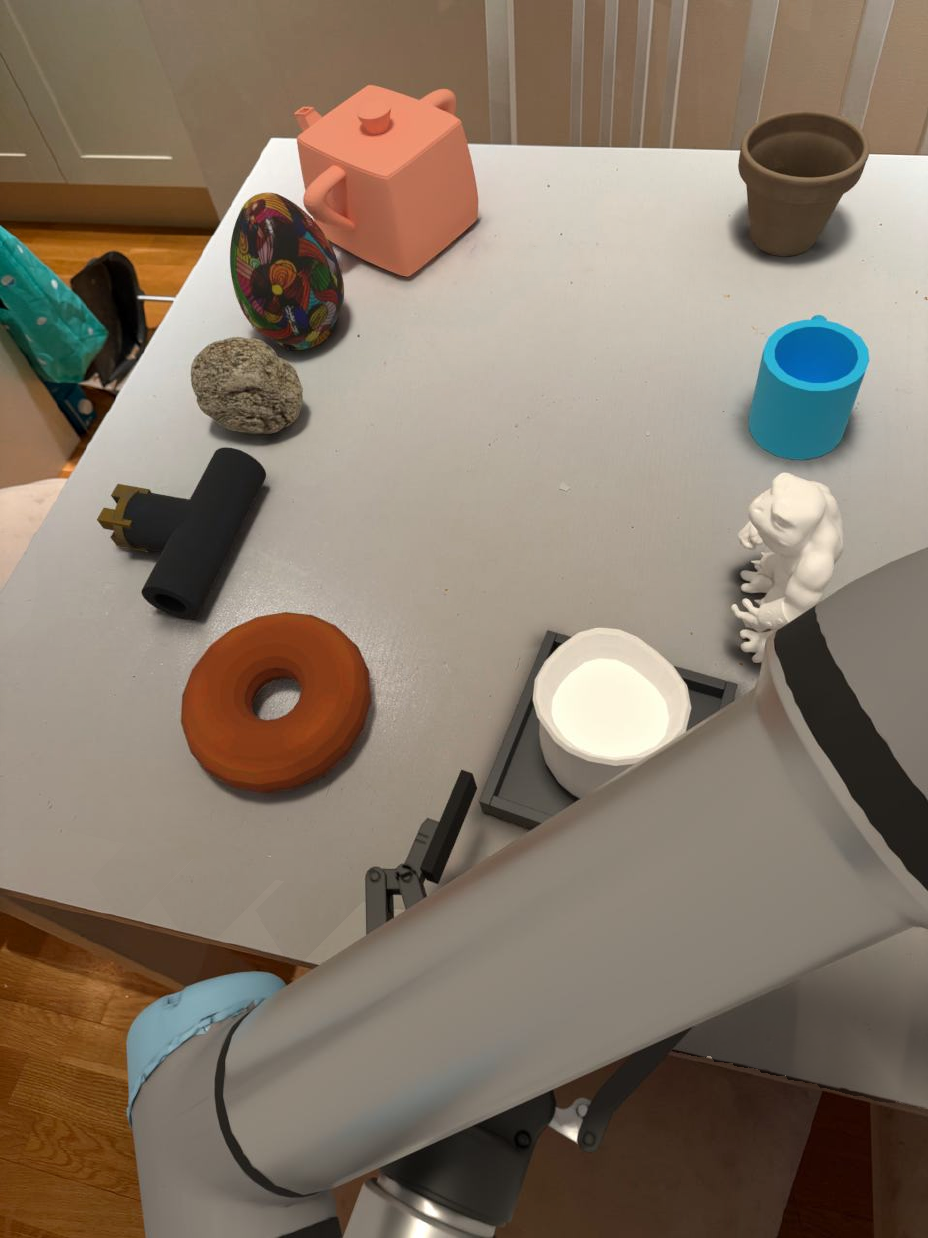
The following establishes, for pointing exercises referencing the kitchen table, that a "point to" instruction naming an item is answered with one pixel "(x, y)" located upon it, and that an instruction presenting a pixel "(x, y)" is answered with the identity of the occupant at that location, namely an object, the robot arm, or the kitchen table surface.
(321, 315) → the egg
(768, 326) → the kitchen table surface
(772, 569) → the figurine
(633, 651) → the cup
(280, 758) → the donut
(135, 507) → the pipe connector
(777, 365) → the mug
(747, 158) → the flower pot
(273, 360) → the stone
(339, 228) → the teapot
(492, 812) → the tray
